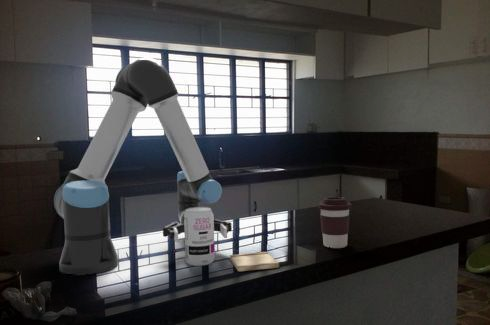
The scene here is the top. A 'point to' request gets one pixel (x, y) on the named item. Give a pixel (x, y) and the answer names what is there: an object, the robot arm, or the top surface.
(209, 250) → the supplement can
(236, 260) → the trivet
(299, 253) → the top surface
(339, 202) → the coffee cup
